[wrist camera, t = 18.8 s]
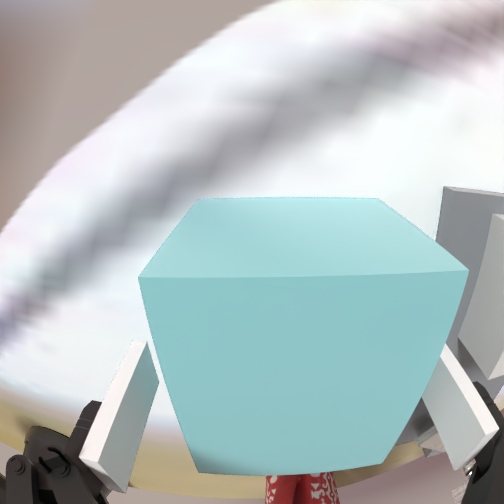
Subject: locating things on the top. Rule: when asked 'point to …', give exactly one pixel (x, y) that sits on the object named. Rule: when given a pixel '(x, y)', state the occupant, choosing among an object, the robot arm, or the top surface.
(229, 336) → the cover
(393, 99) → the top surface
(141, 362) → the robot arm
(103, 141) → the top surface
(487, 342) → the housing
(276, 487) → the mug
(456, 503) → the grey flat angled piece
